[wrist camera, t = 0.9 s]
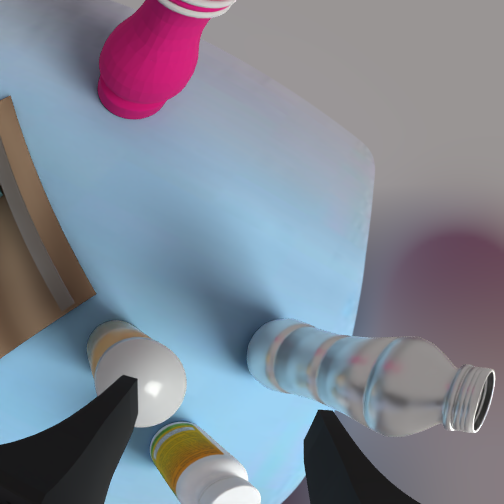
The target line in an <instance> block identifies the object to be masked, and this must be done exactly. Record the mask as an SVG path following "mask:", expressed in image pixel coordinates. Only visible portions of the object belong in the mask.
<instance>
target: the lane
mask: <svg viewBox="0 0 504 504" xmlns="http://www.w3.org/2000/svg"><path fill="white" fill-rule="evenodd" d="M0 188H1V191H2V194H3V196H1V197H0V358H2V357H3V356H5V355H6V354H7V353H9V352H10V351H12V350H13V349H15V348H16V347H17V346H19V345H20V344H22V343H23V342H25V341H26V340H28V339H29V338H31V337H32V336H34V335H35V334H36V333H38V332H39V331H41V330H42V329H44V328H45V327H47V326H48V325H50V324H51V323H53V322H54V321H56V320H57V319H59V318H60V317H62V316H63V315H65V314H66V313H68V312H69V311H71V310H73V309H74V308H76V307H77V306H79V305H80V304H82V303H83V302H85V301H86V300H88V299H89V298H91V297H93V296H94V295H96V292H95V291H94V289H93V287H92V285H91V284H90V282H89V280H88V278H87V276H86V275H85V273H84V271H83V269H82V267H81V266H80V264H79V262H78V260H77V258H76V256H75V254H74V252H73V250H72V249H71V247H70V245H69V243H68V241H67V239H66V237H65V235H64V233H63V231H62V228H61V226H60V224H59V222H58V220H57V218H56V216H55V214H54V211H53V209H52V207H51V205H50V203H49V200H48V198H47V196H46V194H45V191H44V189H43V186H42V184H41V182H40V179H39V177H38V174H37V172H36V169H35V167H34V164H33V162H32V159H31V156H30V154H29V151H28V148H27V145H26V143H25V140H24V137H23V134H22V131H21V128H20V125H19V122H18V119H17V116H16V112H15V109H14V106H13V102H12V99H11V96H9V97H6V98H4V99H2V100H1V101H0Z"/></svg>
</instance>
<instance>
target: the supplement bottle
mask: <svg viewBox="0 0 504 504" xmlns="http://www.w3.org/2000/svg"><path fill="white" fill-rule="evenodd" d="M150 456H151V459H152V461H153V462H154V464H155V466H156V467H157V469H158V470H159V472H160V473H161V475H162V476H163V478H164V479H165V481H166V482H167V484H168V485H169V487H170V488H171V490H172V491H173V493H174V494H175V496H176V497H177V498H178V500H179V501H180V503H181V504H260V501H261V497H260V493H259V491H258V490H257V489H256V488H255V487H254V486H253V485H251V484H250V482H248V475H247V472H246V470H245V468H244V467H243V466H242V464H241V463H240V462H239V461H238V460H236V459H235V458H234V457H233V456H232V455H230V454H229V453H228V452H227V451H226V450H225V449H224V448H222V447H221V446H220V445H219V444H218V443H217V442H216V441H215V440H214V439H212V438H211V437H210V436H209V435H208V434H207V433H206V432H205V431H204V430H202V429H201V428H200V427H199V426H197V425H195V424H193V423H189V422H175V423H171V424H168V425H166V426H164V427H163V428H161V429H160V430H159V431H158V432H157V433H156V434H155V435H154V437H153V439H152V441H151V444H150Z"/></svg>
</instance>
